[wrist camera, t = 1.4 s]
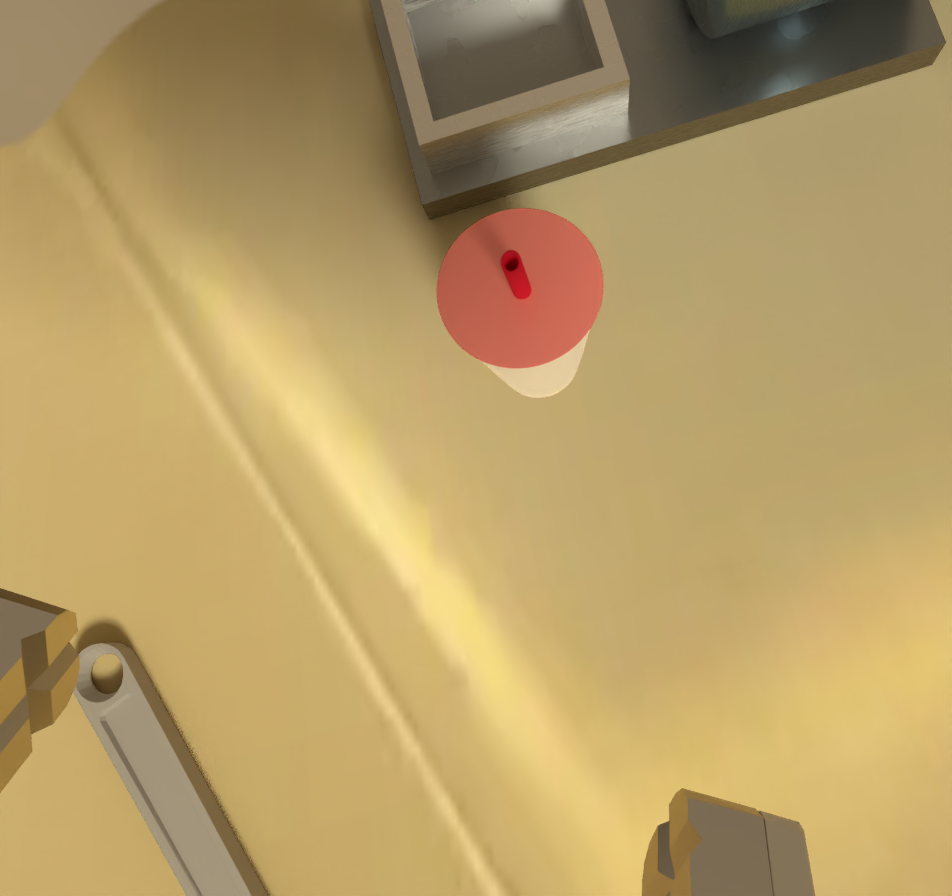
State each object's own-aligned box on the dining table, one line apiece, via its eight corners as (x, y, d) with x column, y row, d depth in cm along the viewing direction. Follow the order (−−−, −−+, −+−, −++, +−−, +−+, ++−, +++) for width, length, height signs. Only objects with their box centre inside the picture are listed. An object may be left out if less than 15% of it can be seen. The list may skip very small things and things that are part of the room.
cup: (561, 444, 35) (541, 374, 24) (452, 382, 37) (382, 286, 25) (626, 334, 36) (638, 212, 24) (516, 276, 37) (477, 132, 25)
